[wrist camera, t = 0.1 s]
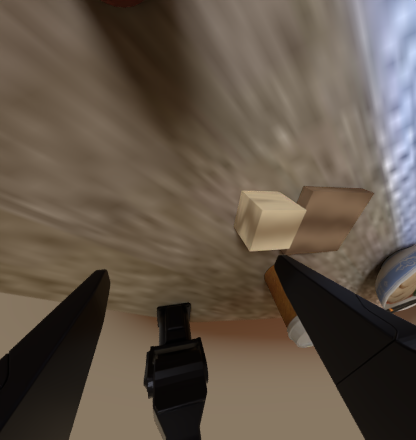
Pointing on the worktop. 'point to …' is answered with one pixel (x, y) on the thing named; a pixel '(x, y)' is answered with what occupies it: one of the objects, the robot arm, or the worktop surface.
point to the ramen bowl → (398, 281)
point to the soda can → (122, 3)
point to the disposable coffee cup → (287, 310)
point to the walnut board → (327, 218)
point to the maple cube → (267, 220)
